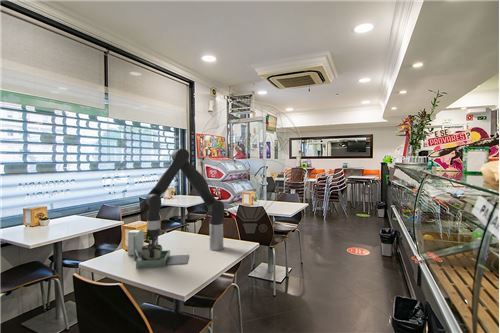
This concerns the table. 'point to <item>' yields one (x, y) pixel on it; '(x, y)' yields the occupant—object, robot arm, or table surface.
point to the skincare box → (132, 241)
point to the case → (138, 252)
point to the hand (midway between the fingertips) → (153, 254)
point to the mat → (178, 259)
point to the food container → (156, 252)
